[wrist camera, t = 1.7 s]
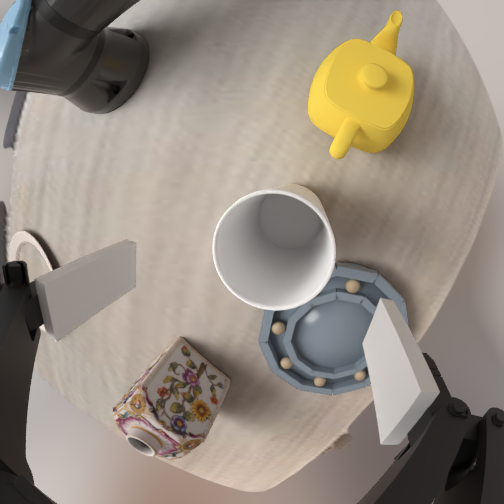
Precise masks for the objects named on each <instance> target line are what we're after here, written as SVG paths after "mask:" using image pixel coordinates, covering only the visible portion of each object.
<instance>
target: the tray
mask: <svg viewBox="0 0 504 504" xmlns="http://www.w3.org/2000/svg"><path fill="white" fill-rule="evenodd" d="M349 279H355V280H358V281H359V283H360V288H359V290H358V291H357V292H356V293H350V292H348V291H347V290H346V282H347V281H348V280H349ZM380 298H383V299H388V300H393V301H394V302H395V304H396V306H397V307H398V309H399V311H400V313H401V315H402V316H403V318H404V320H405V322H406V324H407V325H408V317H407V310H406V303H405V300H404V299H403V297H402V296H401V295H400V293H399V292H398V291H397V290H396V289H395V288H394V287H393V286H392V285H391V284H390V282H389V281H388V280H387V279H386V278H384V277H383V276H382V275H381V274H380V273H379V272H378V271H377V272H376V270H373V269H370V268H368V267H366V266H363V265H359V264H356V263H349V262H335V265H334V269H333V272H332V274H331V277H330V279H329V281H328V282H327V284H326V285H325V287H324V288H323V289H322V291H321V292H320V293H319V294H318V295H317V296H315V297H314V298H313V299H312V300H310V301H308V302H307V303H305V304H303V305H301V306H298V307H296V308H292V309H287V310H266V309H265V310H264V315H263V321H262V326H261V331H260V336H259V341H258V342H259V345H260V347H261V350H262V352H263V354H264V356H265V358H266V360H267V363H268V365H269V367H270V369H271V371H272V372H273V373H275V374H276V375H277V376H279V377H280V378H282V379H283V380H285V381H286V382H288V383H289V384H290V385H292V386H293V387H295V388H296V389H299V388H300V389H299V390H302V391H308V392H314V393H320V394H327V395H332V394H333V395H336V394H340V393H345V392H349V391H353V390H356V389H360V388H364V387H366V385H367V386H369V385H370V384H371V382H370V377H369V372H368V367H367V362H366V358H365V353H364V349H363V344H362V343H363V341H364V339H365V336H366V334H367V331H368V329H369V326H370V324H371V321H372V319H373V316H374V313H375V311H376V308H377V305H378V303H379V300H380ZM277 321H281V322H283V323H284V325H285V331H284V333H282V334H280V335H277V334H274V333H273V331H272V325H273V323H275V322H277ZM408 327H409V325H408ZM284 357H289V358H290V360H291V362H292V363H293V366H292V367H291V368H289V369H284V368H283V367H282V366H281V360H282V358H284ZM361 370H365V372H366V376H365V378H364V379H363V380H360V381H358V380H356V379H355V378H354V374H356V373H358V372H360V371H361ZM316 376H317V377H323V378H326V383H325V384H324V385H323V386H320V387H319V386H316V385H315V384H314V379H315V377H316Z"/></svg>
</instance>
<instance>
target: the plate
mask: <svg viewBox="0 0 504 504" xmlns="http://www.w3.org/2000/svg"><path fill="white" fill-rule="evenodd" d="M25 243H32V244H33V245H35V246H36V247H37V249H38V250H39V251H40V252H41V254H42V255H43V257H44V259H45V260H46V262H47V264H48V266H49V268H50V271H53V268H52V266H51V264H50V261H49V259H48V257H47V255H46V254H45V252H44V250H43V248H42V247H41V245H40V244H39V243H38V241H37V240H36V239H35V238H34V237H33V236H32V235H31V234H29V233H28V232H26V231H19V232H17V233H16V234H15V235H14V236H13V238H12V240H11V243H10V247H9V262H11V261H19V252H20V249H21V247H22V246H23V245H24V244H25ZM39 328H40V329H42V330H43V331H45V332H46V330H45V327H44V324H43V325H42V326H40V327H39Z"/></svg>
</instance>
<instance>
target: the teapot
mask: <svg viewBox="0 0 504 504" xmlns="http://www.w3.org/2000/svg"><path fill="white" fill-rule="evenodd" d="M401 23H402V13H401V12H400V11H398V10H396V11H394V12H393V13H392V14H391V16H390V18H389V20H388V22H387V24H386V26H385V27H384V28H383V29H382V30H381V31H380V32H379V33H378V34H377V35H376V36H375V37H374V38H373V39H372V41H371V42H370V43H369V42H367V41H364V40H361V39H351V40H348V41H346V42H344V43H342V44H340V45H339V46H338V47H336V48H335V49H334V50H333V51H332V52H331V53H330V54H329V55H328V56H327V57H326V58H325V60H324V61H323V62H322V64H321V65H320V67H319V68H318V70H317V72H316V74H315V76H314V79H313V81H312V84H311V88H310V92H309V99H308V115H309V117H310V119H311V121H312V122H313V124H314V125H315V126H317V127H318V128H319V129H321V130H322V131H324V132H325V133H327V134H329V135H330V136H332V137H333V138H334V140H333V142H332V144H331V146H330V150H329V151H330V154H331V156H332V157H334V158H336V159H342V158H343V157H344V156H345V155H346V153H347V152H348V150H349V148H350V146H352V147H354V148H356V149H359V150H362V151H364V152H368V153H377V152H380V151H382V150H384V149H386V148H387V147H388V146H389V145H390V144H391V143H392V142H393V141H394V140H395V139H396V137H397V136H398V135H399V134H400V132H401V131H402V129H403V128H404V126H405V124H406V122H407V120H408V118H409V115H410V112H411V109H412V104H413V97H414V75H413V71H412V69H411V67H410V66H409V65H408V64H407V63H406V62H404V61H403V60H402V59H400V58H398V57H397V56H395V54H396V48H397V38H398V33H399V29H400V26H401Z"/></svg>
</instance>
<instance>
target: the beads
mask: <svg viewBox="0 0 504 504" xmlns="http://www.w3.org/2000/svg"><path fill="white" fill-rule="evenodd" d="M359 288H360V283H359V281H358V280H355V279H349V280H348V281H347V282H346V290H347V291H348V292H350V293H356V292H357V291H358V290H359ZM272 331H273V333H274V334H277V335H280V334H282V333H284V331H285V325H284V323H283V322H281V321H277V322H275V323H273V325H272ZM281 366H282V367H283V368H284V369H289V368H291V367H292V366H293V363H292V362H291V360H290V358H289V357H284V358H282V360H281ZM365 376H366V372H365V370H361V371H360V372H358V373H356V374H354V378H355V379H356V380H358V381H360V380H363V379H364V378H365ZM325 383H326V378H323V377H317V376H316V377H315V379H314V384H315V385H316V386H319V387H320V386H323V385H324V384H325Z"/></svg>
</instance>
